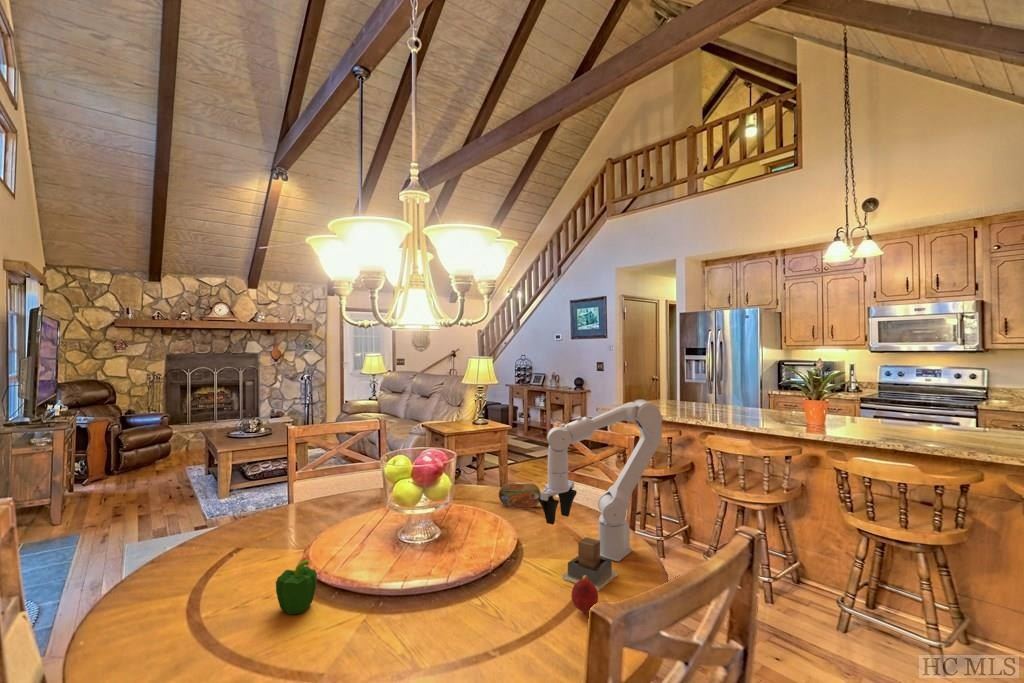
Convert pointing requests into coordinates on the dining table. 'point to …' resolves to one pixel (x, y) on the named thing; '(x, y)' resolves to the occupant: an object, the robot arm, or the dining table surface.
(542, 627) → the dining table surface
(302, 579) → the bell pepper
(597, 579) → the grey square socket
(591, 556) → the rail post
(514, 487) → the tin
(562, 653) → the dining table surface
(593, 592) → the onion
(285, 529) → the dining table surface
